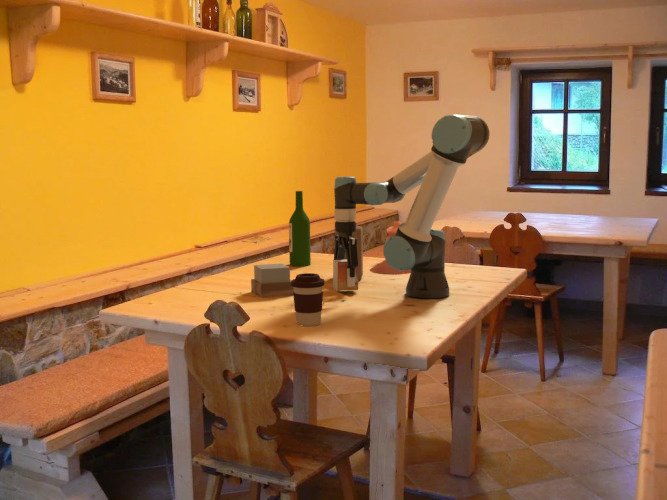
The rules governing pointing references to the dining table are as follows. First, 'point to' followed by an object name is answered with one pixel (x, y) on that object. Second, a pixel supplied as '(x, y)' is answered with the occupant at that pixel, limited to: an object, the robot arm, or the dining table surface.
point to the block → (358, 249)
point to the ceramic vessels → (383, 266)
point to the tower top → (271, 273)
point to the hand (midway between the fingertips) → (345, 284)
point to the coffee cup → (308, 298)
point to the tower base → (271, 289)
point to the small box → (342, 276)
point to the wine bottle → (299, 235)
